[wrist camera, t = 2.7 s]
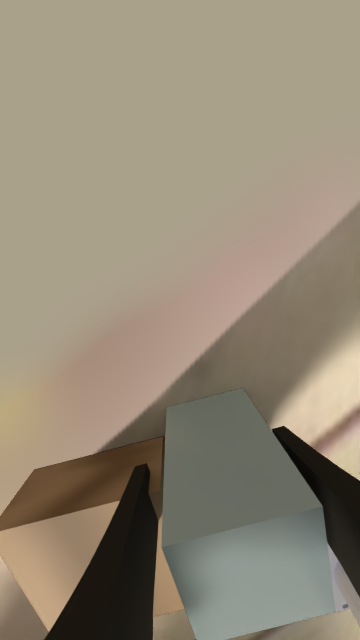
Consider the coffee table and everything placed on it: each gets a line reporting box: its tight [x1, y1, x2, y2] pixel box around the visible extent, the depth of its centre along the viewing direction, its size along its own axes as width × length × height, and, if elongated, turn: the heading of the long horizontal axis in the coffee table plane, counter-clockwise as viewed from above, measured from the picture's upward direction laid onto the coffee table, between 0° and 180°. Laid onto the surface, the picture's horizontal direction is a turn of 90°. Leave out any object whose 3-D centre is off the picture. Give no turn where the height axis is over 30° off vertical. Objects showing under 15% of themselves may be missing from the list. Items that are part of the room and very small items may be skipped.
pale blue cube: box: [161, 388, 336, 640], centre depth 9 cm, size 5×5×6 cm
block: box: [0, 437, 184, 632], centre depth 11 cm, size 8×8×3 cm
